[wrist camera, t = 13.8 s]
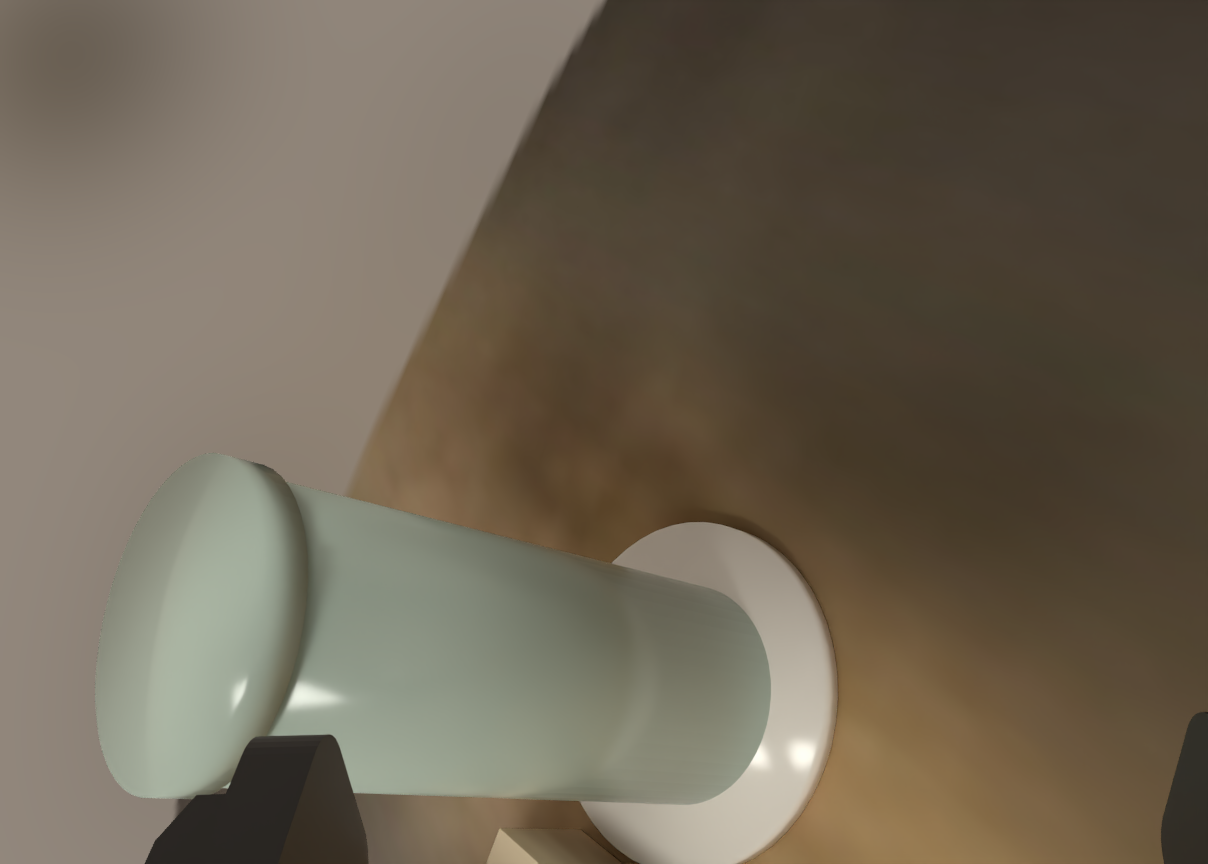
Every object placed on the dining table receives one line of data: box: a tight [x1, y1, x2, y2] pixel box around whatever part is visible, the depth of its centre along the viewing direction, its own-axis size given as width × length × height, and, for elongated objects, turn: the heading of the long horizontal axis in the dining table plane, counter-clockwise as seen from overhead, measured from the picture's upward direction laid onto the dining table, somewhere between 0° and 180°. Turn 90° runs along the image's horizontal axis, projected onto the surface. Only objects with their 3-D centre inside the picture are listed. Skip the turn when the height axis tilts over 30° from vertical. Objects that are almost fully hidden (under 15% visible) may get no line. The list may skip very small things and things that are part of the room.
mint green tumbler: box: [95, 453, 771, 805], centre depth 25 cm, size 6×8×14 cm
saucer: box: [580, 522, 838, 864], centre depth 29 cm, size 9×9×1 cm
